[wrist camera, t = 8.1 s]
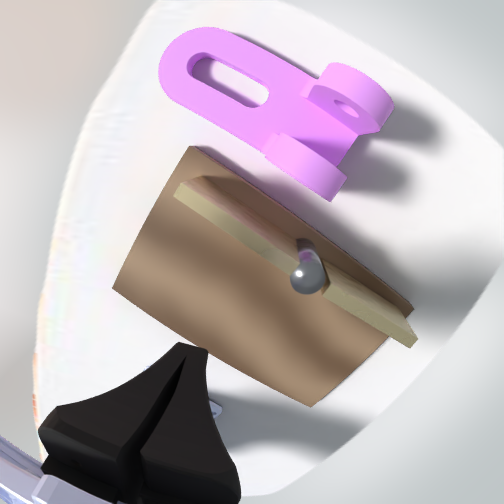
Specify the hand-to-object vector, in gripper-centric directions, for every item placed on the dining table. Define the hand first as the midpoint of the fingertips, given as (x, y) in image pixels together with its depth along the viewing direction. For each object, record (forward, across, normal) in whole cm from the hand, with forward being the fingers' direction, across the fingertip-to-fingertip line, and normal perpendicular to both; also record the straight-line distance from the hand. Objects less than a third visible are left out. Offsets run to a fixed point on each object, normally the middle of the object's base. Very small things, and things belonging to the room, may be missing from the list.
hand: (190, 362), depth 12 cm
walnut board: (+9, -3, +1) cm, 10 cm away
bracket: (+10, 0, -12) cm, 16 cm away
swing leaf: (+8, -9, -2) cm, 12 cm away
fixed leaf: (+8, -1, -5) cm, 10 cm away
